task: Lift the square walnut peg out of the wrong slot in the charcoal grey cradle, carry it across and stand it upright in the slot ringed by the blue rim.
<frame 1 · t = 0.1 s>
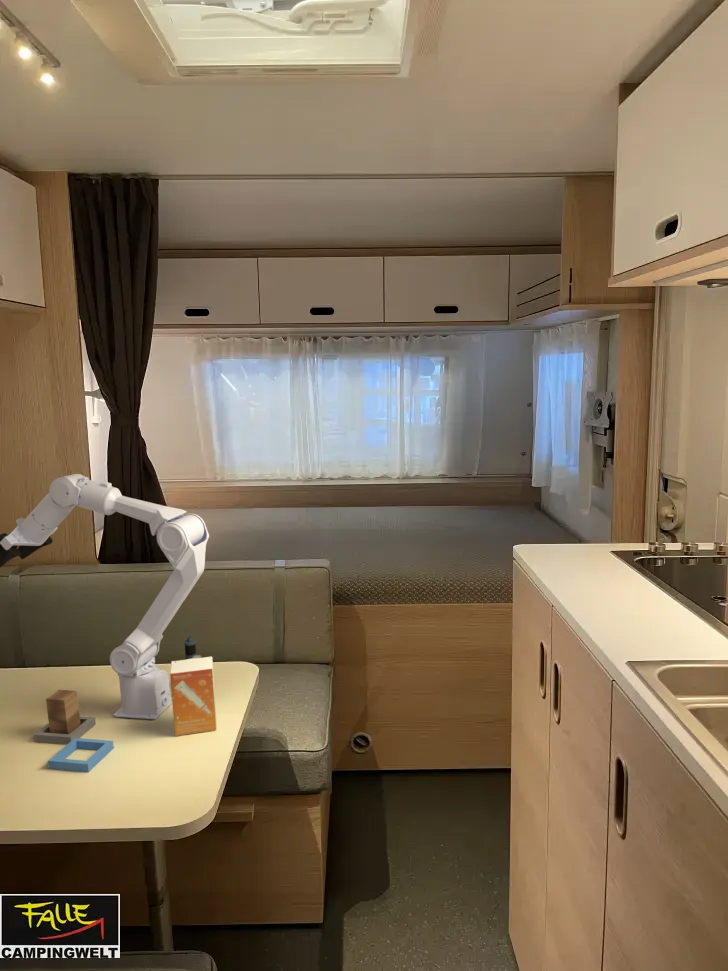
hand: (7, 560, 147), 32 cm above the table, tool tilted 50°, fingers open, 7 cm apart
grey cradle: (65, 732, 137), on the table
small box: (196, 727, 138), on the table
vaping device: (197, 691, 154), on the table
blue rim cradle: (82, 758, 128), on the table
walnut peg: (63, 714, 137), in the grey cradle
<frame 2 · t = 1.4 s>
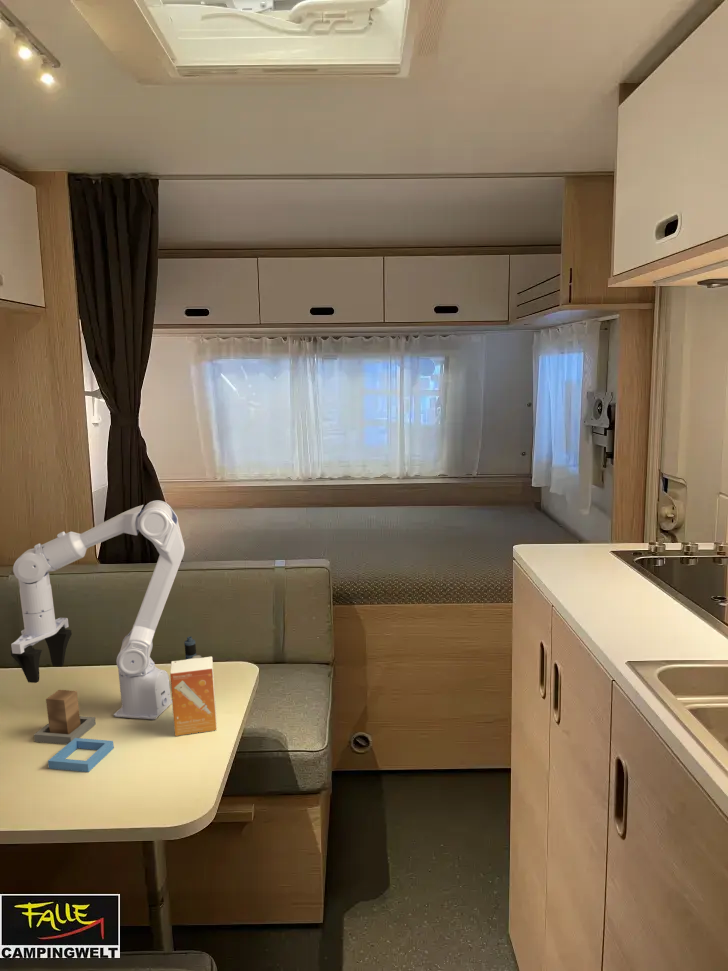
hand: (46, 673, 141), 10 cm above the table, tool pointing down, fingers open, 7 cm apart
nothing on the table moved.
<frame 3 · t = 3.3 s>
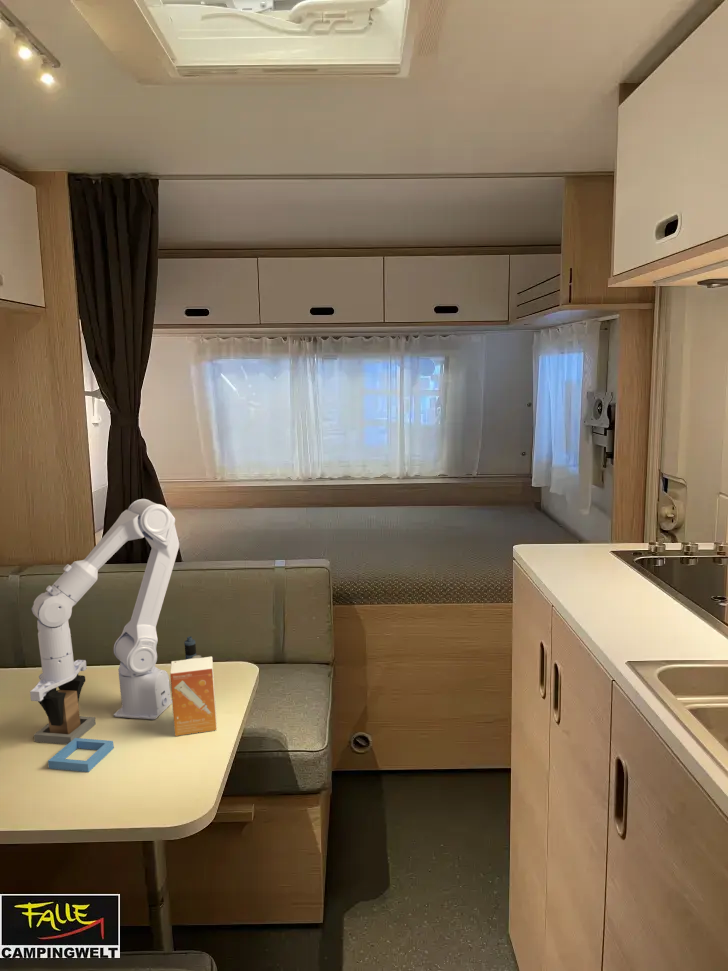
hand: (64, 718, 137), 3 cm above the table, tool pointing down, fingers closed on walnut peg, 4 cm apart
walnut peg: (63, 713, 137), in the grey cradle, touching gripper
everything else where it was.
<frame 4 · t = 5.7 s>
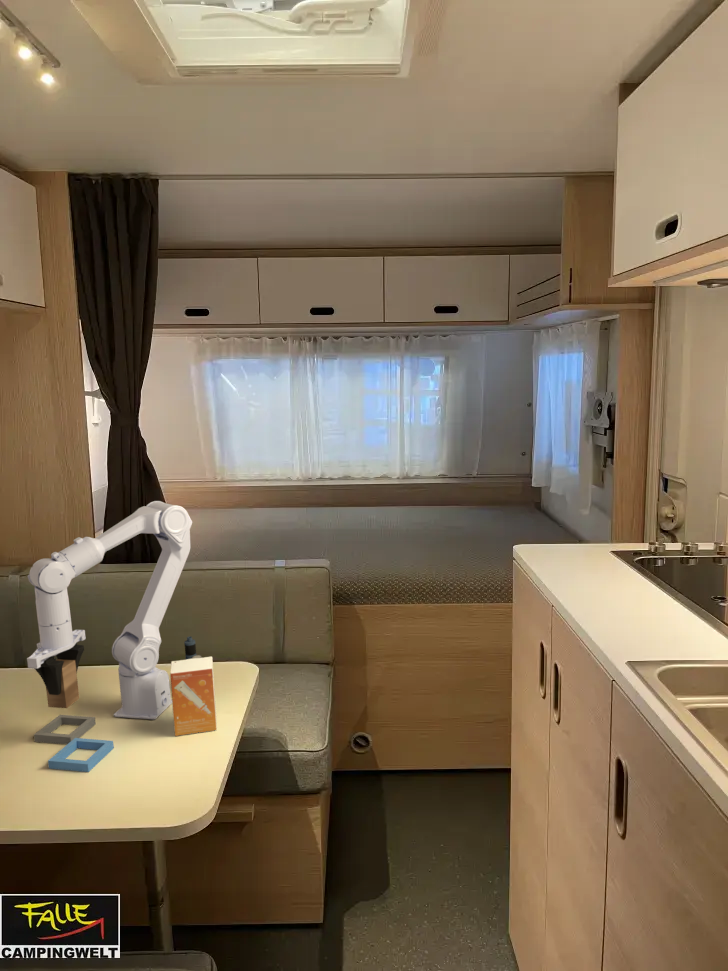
hand: (62, 688, 134), 10 cm above the table, tool pointing down, fingers closed on walnut peg, 4 cm apart
walnut peg: (61, 683, 134), point 11 cm above the table, touching gripper
everything else where it was.
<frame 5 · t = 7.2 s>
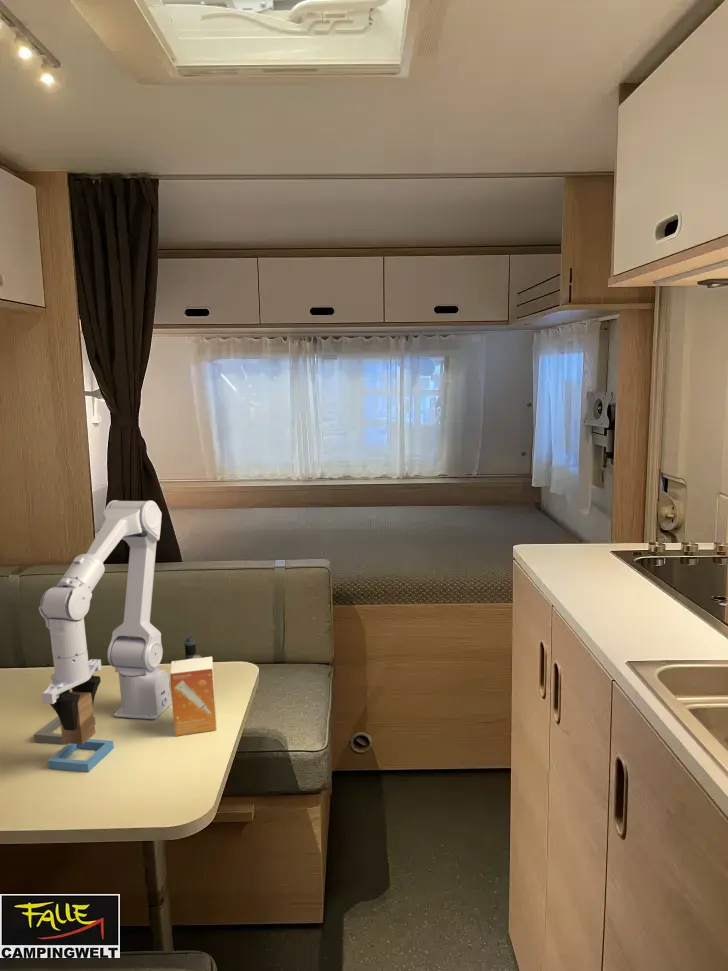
hand: (78, 723, 127), 7 cm above the table, tool pointing down, fingers closed on walnut peg, 4 cm apart
walnut peg: (77, 717, 126), point 8 cm above the table, touching gripper
everything else where it was.
when the fingers open (4 cm above the table, at t = 8.3 s): walnut peg stays where it is, resting in blue rim cradle.
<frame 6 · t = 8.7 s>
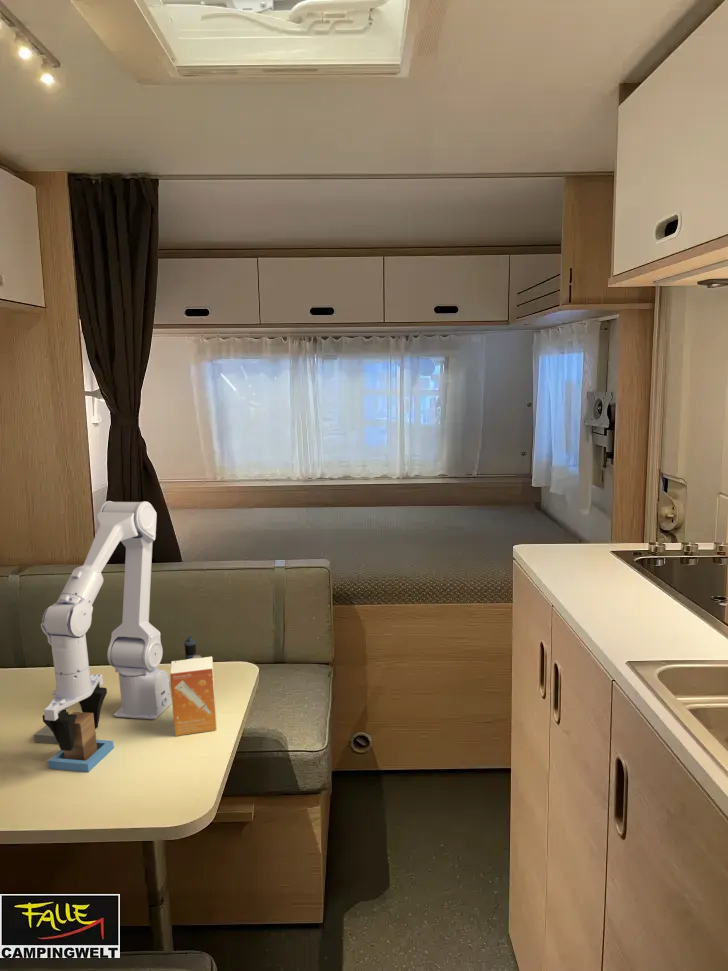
hand: (79, 738, 127), 4 cm above the table, tool pointing down, fingers open, 7 cm apart
walnut peg: (79, 738, 127), in the blue rim cradle
everything else where it was.
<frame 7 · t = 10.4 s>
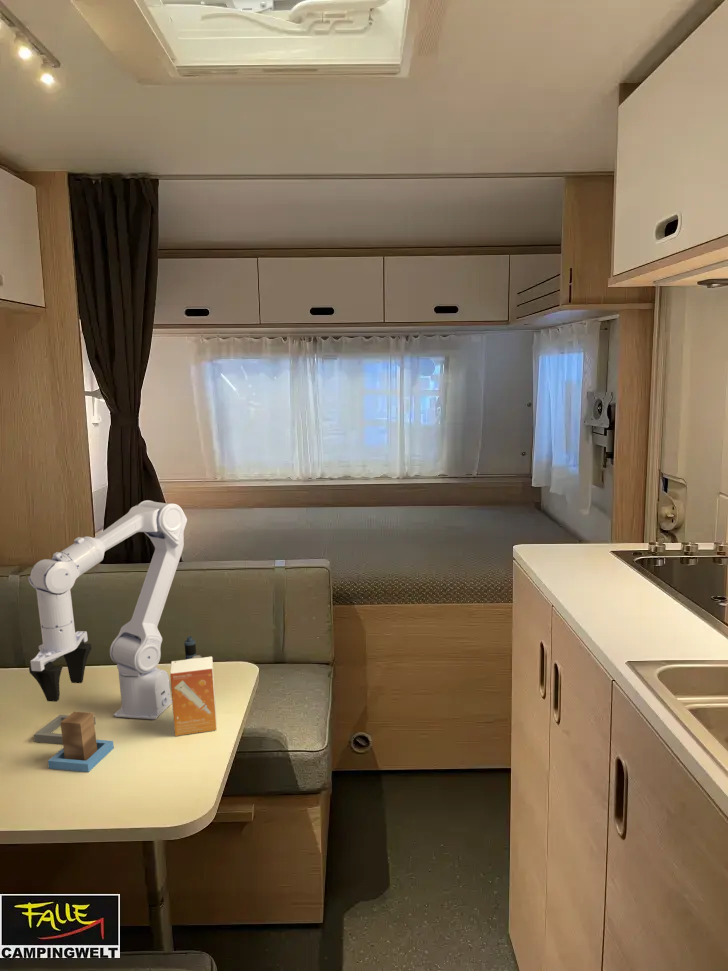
hand: (65, 691, 132), 10 cm above the table, tool pointing down, fingers open, 7 cm apart
nothing on the table moved.
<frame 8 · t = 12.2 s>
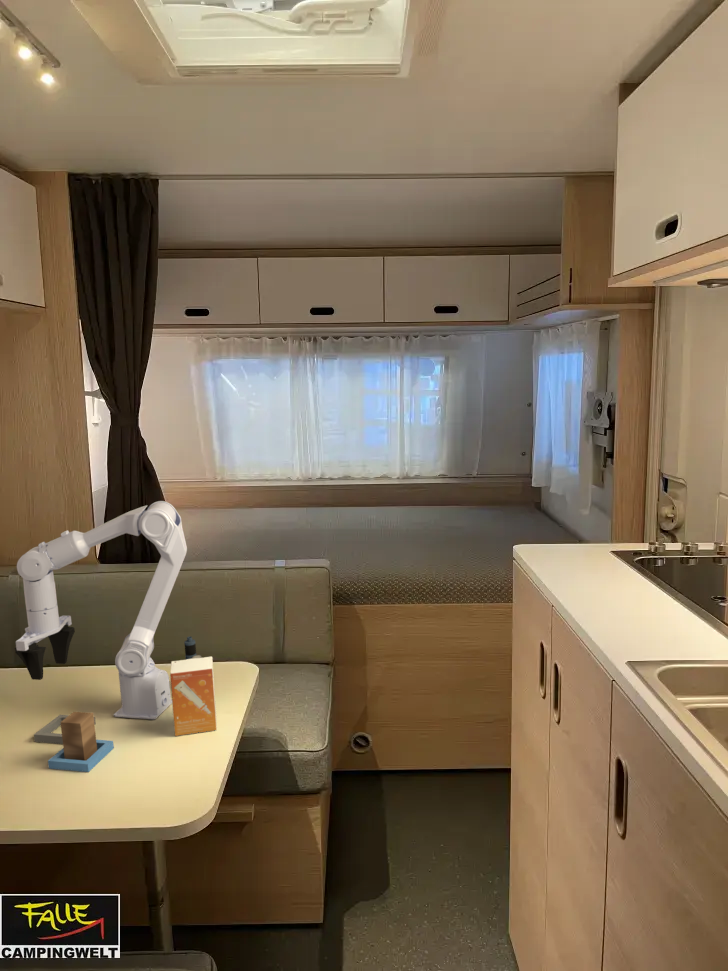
hand: (49, 670, 142), 10 cm above the table, tool pointing down, fingers open, 7 cm apart
nothing on the table moved.
at the end: walnut peg 0.1 cm off-centre on the blue rim cradle, point 4.0 cm above the blue rim cradle's base; walnut peg tilted 0°; the gripper is holding nothing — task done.
